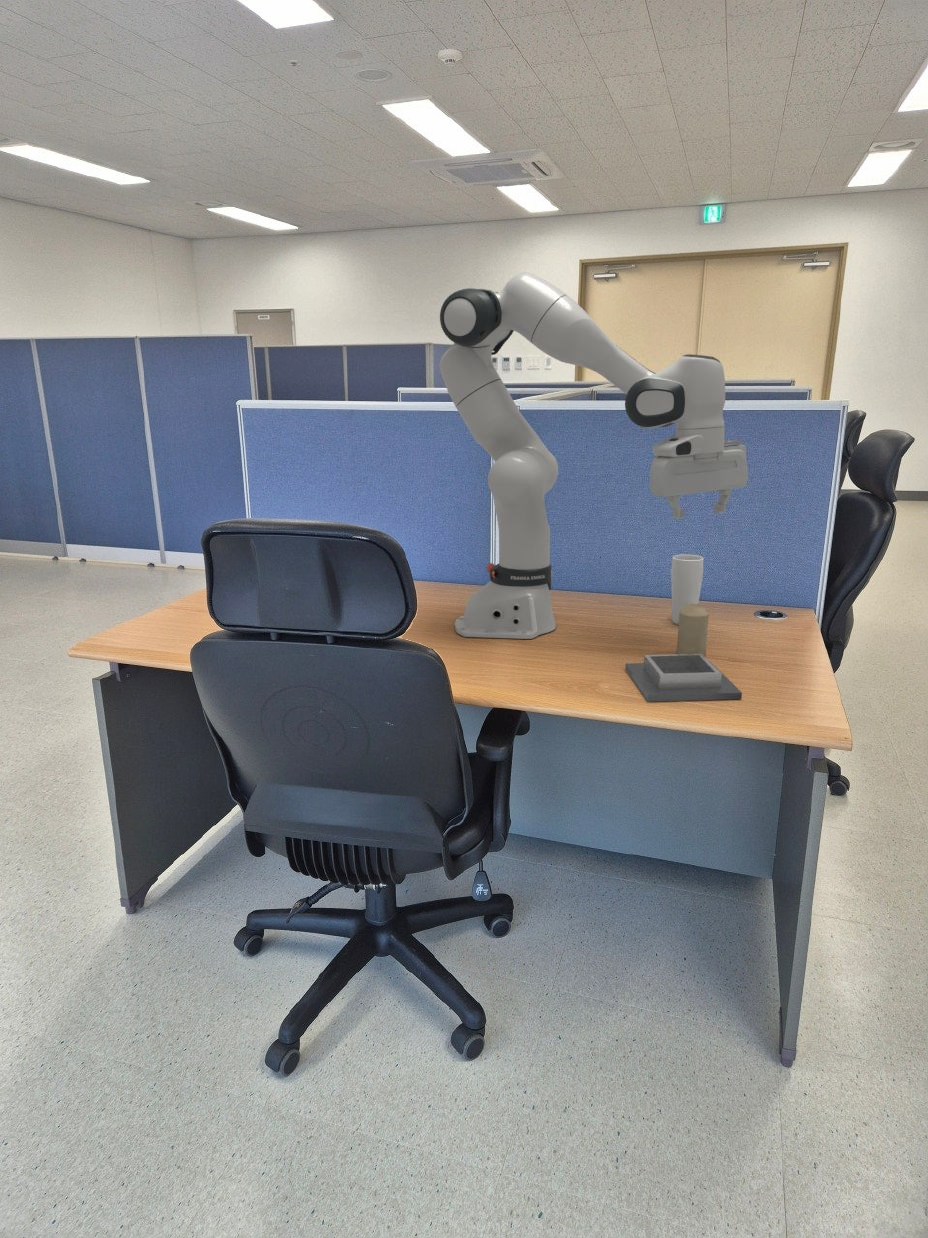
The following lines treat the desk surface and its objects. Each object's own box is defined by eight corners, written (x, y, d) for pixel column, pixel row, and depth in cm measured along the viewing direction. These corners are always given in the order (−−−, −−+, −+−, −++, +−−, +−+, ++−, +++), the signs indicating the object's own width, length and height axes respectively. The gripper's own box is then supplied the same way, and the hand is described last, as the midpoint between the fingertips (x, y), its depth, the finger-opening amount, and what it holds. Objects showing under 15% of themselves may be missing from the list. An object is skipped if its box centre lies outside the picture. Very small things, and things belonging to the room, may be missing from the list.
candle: (700, 660, 152) (704, 610, 149) (672, 655, 155) (676, 606, 152) (708, 652, 156) (712, 603, 153) (681, 647, 159) (684, 600, 156)
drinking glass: (696, 618, 179) (700, 554, 174) (702, 627, 172) (706, 560, 168) (666, 618, 179) (669, 554, 175) (670, 627, 173) (674, 560, 169)
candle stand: (647, 702, 132) (648, 681, 131) (625, 669, 147) (626, 650, 146) (741, 699, 132) (743, 678, 131) (709, 667, 148) (711, 648, 147)
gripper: (735, 438, 155) (733, 508, 159) (645, 447, 149) (645, 519, 153) (756, 438, 149) (754, 511, 153) (663, 448, 143) (663, 523, 147)
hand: (699, 515), depth 153 cm, fingers open, 8 cm apart
